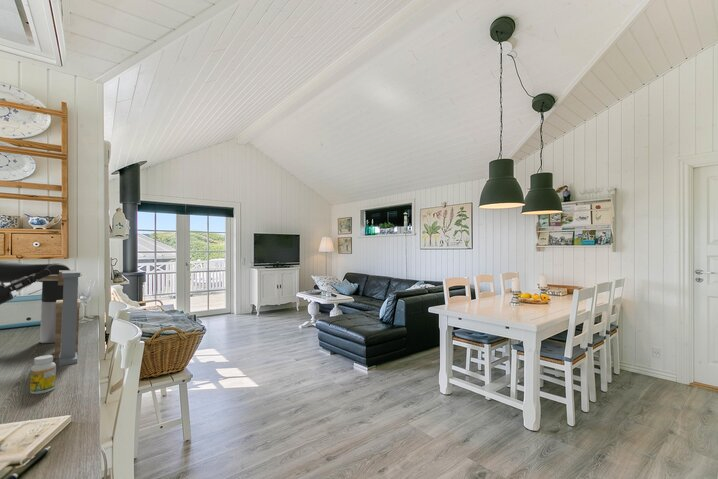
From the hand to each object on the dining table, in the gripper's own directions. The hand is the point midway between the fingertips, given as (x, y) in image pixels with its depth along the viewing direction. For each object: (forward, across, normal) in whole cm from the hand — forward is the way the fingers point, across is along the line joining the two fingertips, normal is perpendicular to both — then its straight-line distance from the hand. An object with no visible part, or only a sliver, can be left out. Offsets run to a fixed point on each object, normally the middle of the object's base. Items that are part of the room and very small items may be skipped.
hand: (49, 271), depth 128 cm
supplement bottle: (-15, +39, -28) cm, 50 cm away
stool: (-11, 0, -30) cm, 32 cm away
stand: (-10, +11, -31) cm, 34 cm away
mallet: (-1, 0, -5) cm, 5 cm away
